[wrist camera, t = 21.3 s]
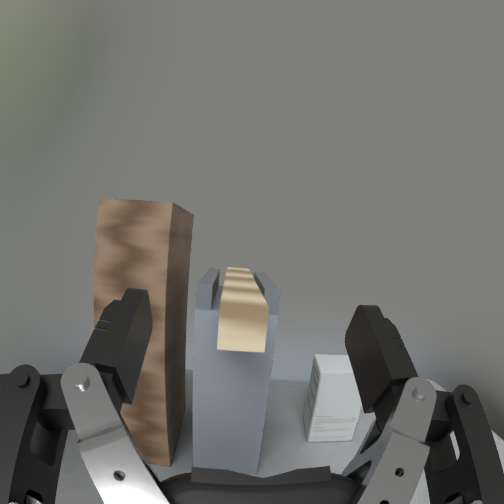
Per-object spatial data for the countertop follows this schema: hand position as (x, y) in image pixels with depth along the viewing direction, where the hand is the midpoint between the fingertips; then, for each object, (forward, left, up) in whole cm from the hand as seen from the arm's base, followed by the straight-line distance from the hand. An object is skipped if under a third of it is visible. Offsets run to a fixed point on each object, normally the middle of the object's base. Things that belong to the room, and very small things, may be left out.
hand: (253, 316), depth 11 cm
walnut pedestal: (-11, +24, -26) cm, 37 cm away
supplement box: (+16, +27, -26) cm, 41 cm away
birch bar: (0, +19, -4) cm, 19 cm away
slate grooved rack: (0, +24, -26) cm, 36 cm away
